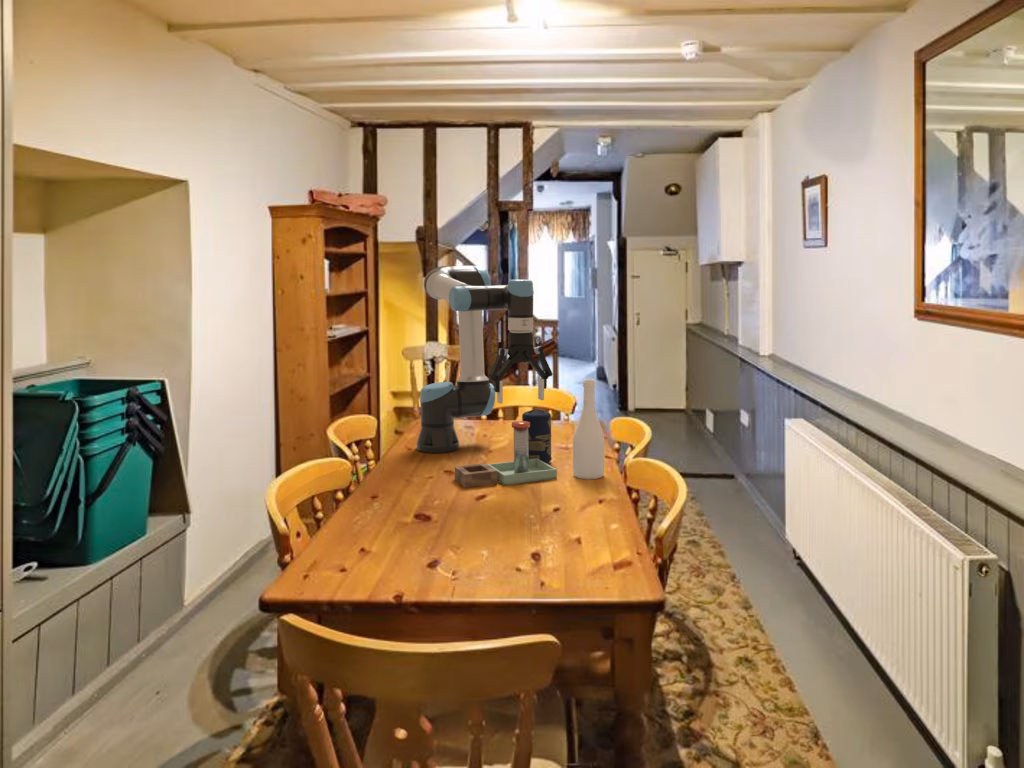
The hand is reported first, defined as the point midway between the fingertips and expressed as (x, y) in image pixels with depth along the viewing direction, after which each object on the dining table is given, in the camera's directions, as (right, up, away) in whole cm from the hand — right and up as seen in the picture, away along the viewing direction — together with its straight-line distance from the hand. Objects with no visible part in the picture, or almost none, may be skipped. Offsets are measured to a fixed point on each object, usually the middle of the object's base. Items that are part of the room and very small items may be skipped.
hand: (520, 401), depth 226 cm
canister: (+6, -21, +19) cm, 29 cm away
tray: (0, -23, +3) cm, 23 cm away
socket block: (-14, -24, -2) cm, 28 cm away
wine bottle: (+21, -23, +3) cm, 31 cm away
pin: (0, -23, +3) cm, 23 cm away
